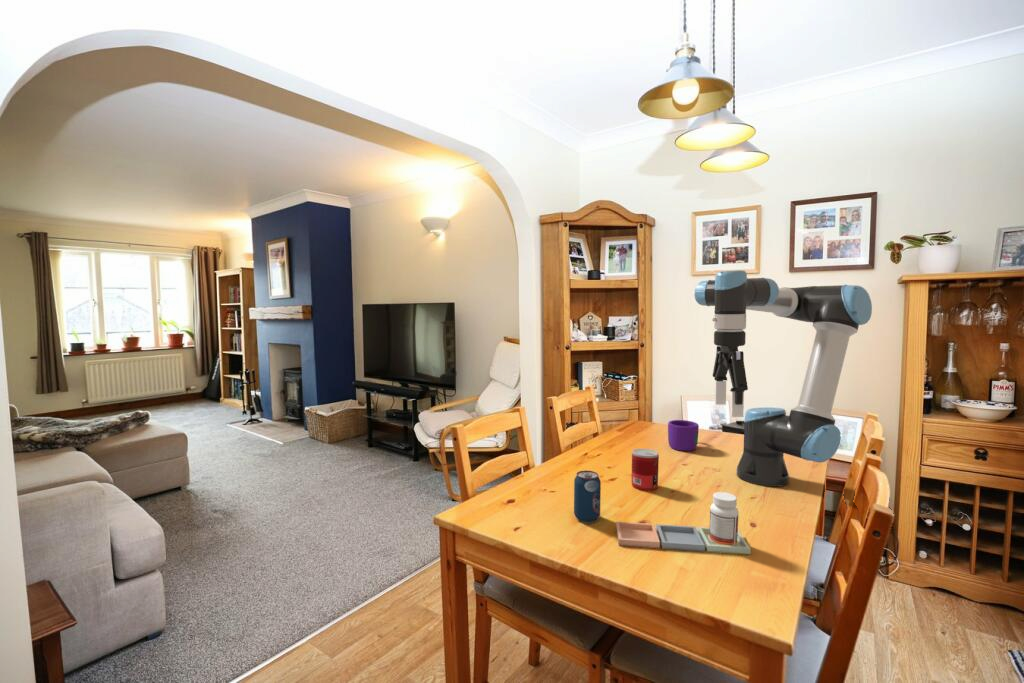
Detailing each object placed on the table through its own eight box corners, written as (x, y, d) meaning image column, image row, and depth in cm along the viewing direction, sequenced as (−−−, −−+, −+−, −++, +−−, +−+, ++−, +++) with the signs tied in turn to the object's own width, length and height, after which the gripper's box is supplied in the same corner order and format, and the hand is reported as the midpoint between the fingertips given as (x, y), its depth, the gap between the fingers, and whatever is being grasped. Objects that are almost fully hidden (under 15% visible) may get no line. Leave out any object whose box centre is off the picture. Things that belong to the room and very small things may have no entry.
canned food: (659, 492, 146) (659, 456, 145) (631, 490, 148) (632, 455, 147) (656, 482, 154) (657, 449, 153) (630, 481, 155) (631, 447, 154)
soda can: (600, 524, 125) (600, 479, 124) (573, 522, 126) (573, 478, 125) (600, 513, 132) (600, 470, 131) (574, 511, 133) (574, 468, 132)
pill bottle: (721, 533, 119) (723, 489, 118) (743, 545, 114) (745, 498, 113) (703, 539, 117) (705, 493, 116) (724, 550, 111) (726, 503, 110)
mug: (695, 454, 183) (696, 428, 182) (664, 449, 188) (665, 424, 188) (702, 442, 198) (703, 418, 197) (673, 438, 203) (674, 415, 203)
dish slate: (695, 532, 121) (695, 526, 121) (704, 551, 111) (704, 545, 111) (656, 529, 122) (656, 524, 122) (662, 548, 113) (662, 542, 113)
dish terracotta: (653, 529, 122) (654, 524, 122) (659, 548, 113) (659, 542, 113) (616, 527, 123) (616, 521, 123) (618, 545, 114) (618, 539, 114)
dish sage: (737, 535, 119) (737, 529, 119) (750, 554, 110) (750, 548, 110) (697, 532, 121) (697, 526, 120) (707, 551, 111) (707, 545, 111)
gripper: (701, 327, 139) (700, 399, 141) (730, 334, 114) (728, 422, 116) (729, 326, 138) (727, 399, 140) (763, 334, 113) (761, 422, 115)
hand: (728, 410), depth 128 cm, fingers open, 13 cm apart
